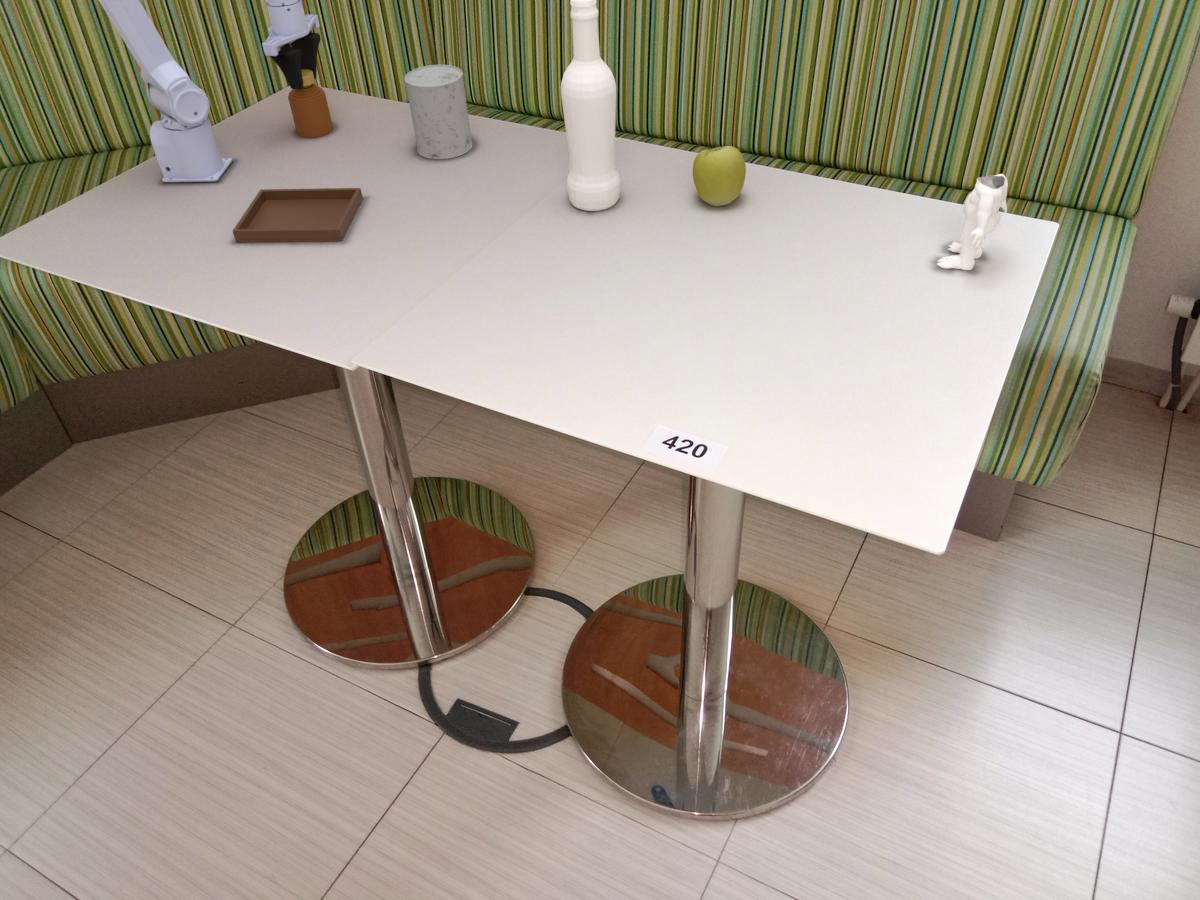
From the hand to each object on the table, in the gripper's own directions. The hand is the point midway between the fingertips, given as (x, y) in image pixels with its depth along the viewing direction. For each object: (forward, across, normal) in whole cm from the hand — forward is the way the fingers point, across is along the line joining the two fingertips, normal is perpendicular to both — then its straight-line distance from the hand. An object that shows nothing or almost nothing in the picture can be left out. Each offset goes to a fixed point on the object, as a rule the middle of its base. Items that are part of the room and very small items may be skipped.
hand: (304, 83), depth 168 cm
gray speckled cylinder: (+9, +2, +26) cm, 28 cm away
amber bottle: (+8, 0, 0) cm, 8 cm away
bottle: (+9, +14, +57) cm, 60 cm away
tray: (+8, +30, +15) cm, 35 cm away
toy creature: (+9, +20, +112) cm, 114 cm away
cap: (-1, 0, 0) cm, 1 cm away
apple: (+9, +10, +76) cm, 77 cm away
